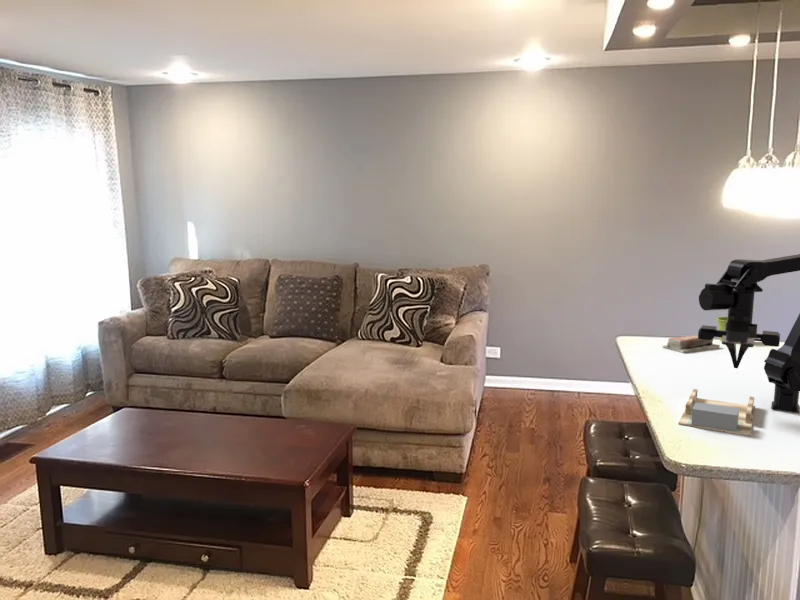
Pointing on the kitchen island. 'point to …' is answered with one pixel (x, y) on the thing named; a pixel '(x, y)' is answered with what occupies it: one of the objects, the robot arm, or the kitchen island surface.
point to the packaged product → (690, 344)
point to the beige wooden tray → (744, 410)
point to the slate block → (715, 416)
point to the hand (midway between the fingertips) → (735, 367)
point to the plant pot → (722, 324)
